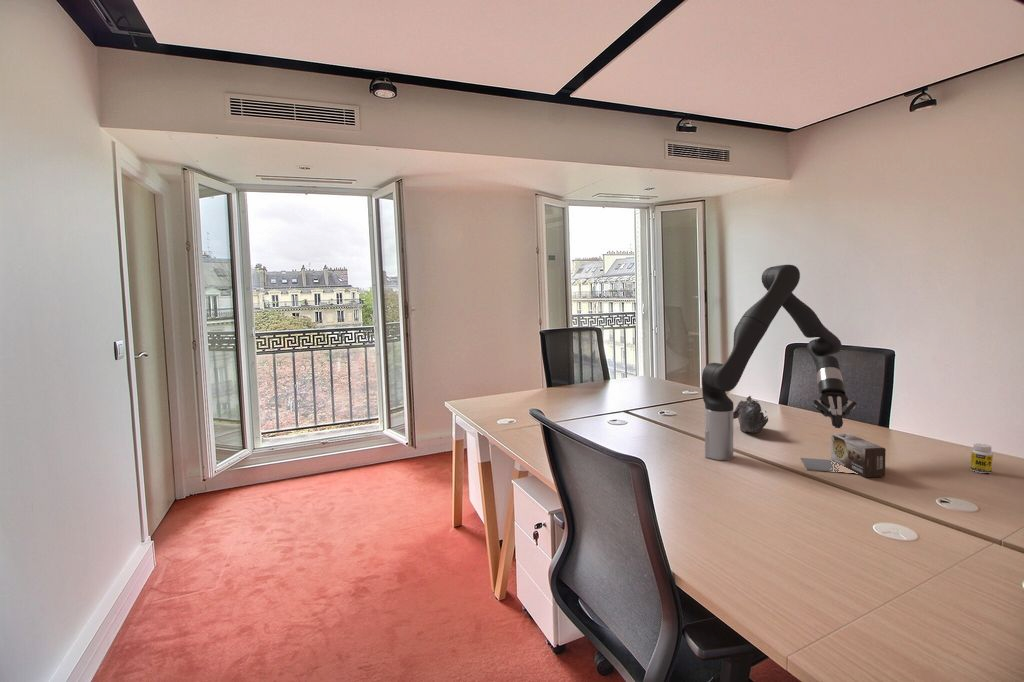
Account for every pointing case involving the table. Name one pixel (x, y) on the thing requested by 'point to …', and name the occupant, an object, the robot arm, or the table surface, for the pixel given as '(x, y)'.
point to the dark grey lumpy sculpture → (750, 416)
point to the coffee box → (858, 455)
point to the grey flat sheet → (819, 464)
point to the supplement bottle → (981, 458)
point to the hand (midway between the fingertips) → (838, 426)
